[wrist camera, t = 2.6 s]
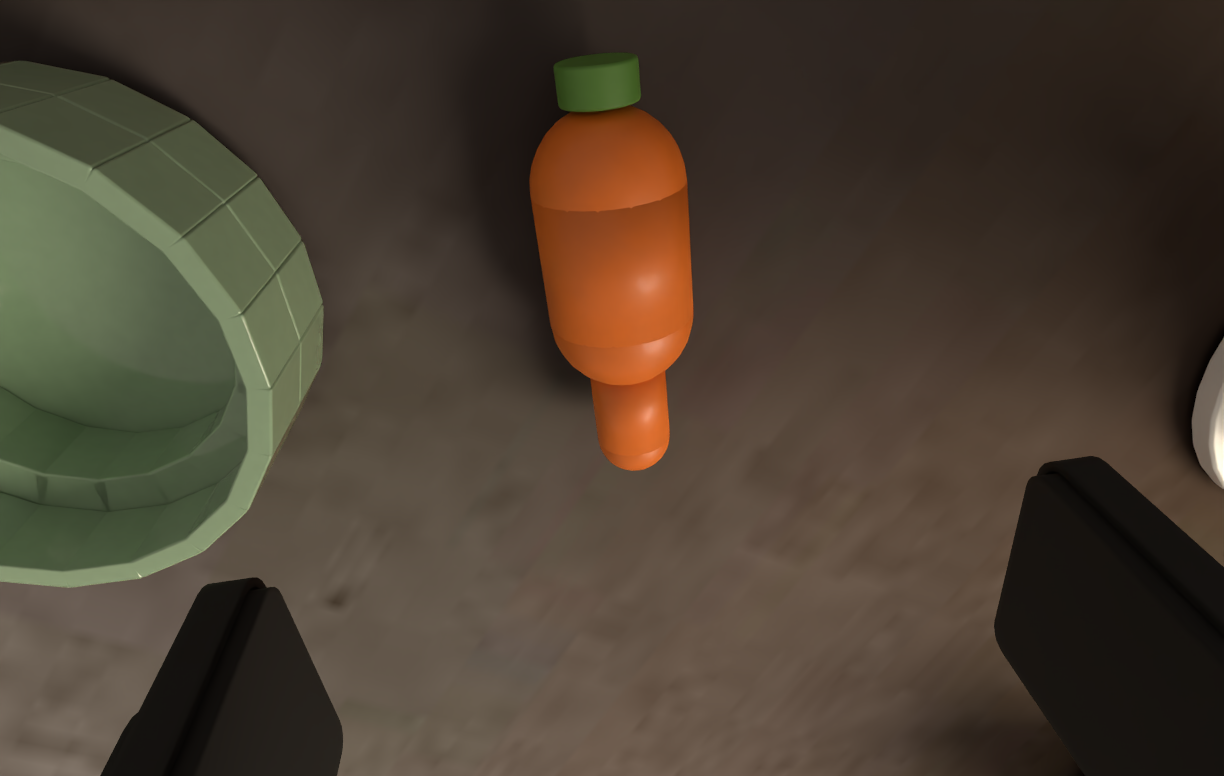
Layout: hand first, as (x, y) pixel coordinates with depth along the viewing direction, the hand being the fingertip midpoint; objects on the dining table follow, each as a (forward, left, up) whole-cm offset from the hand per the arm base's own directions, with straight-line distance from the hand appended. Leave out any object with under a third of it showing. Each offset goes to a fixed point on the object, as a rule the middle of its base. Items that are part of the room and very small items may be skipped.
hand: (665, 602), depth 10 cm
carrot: (0, +1, -14) cm, 14 cm away
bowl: (+14, 0, -14) cm, 20 cm away
